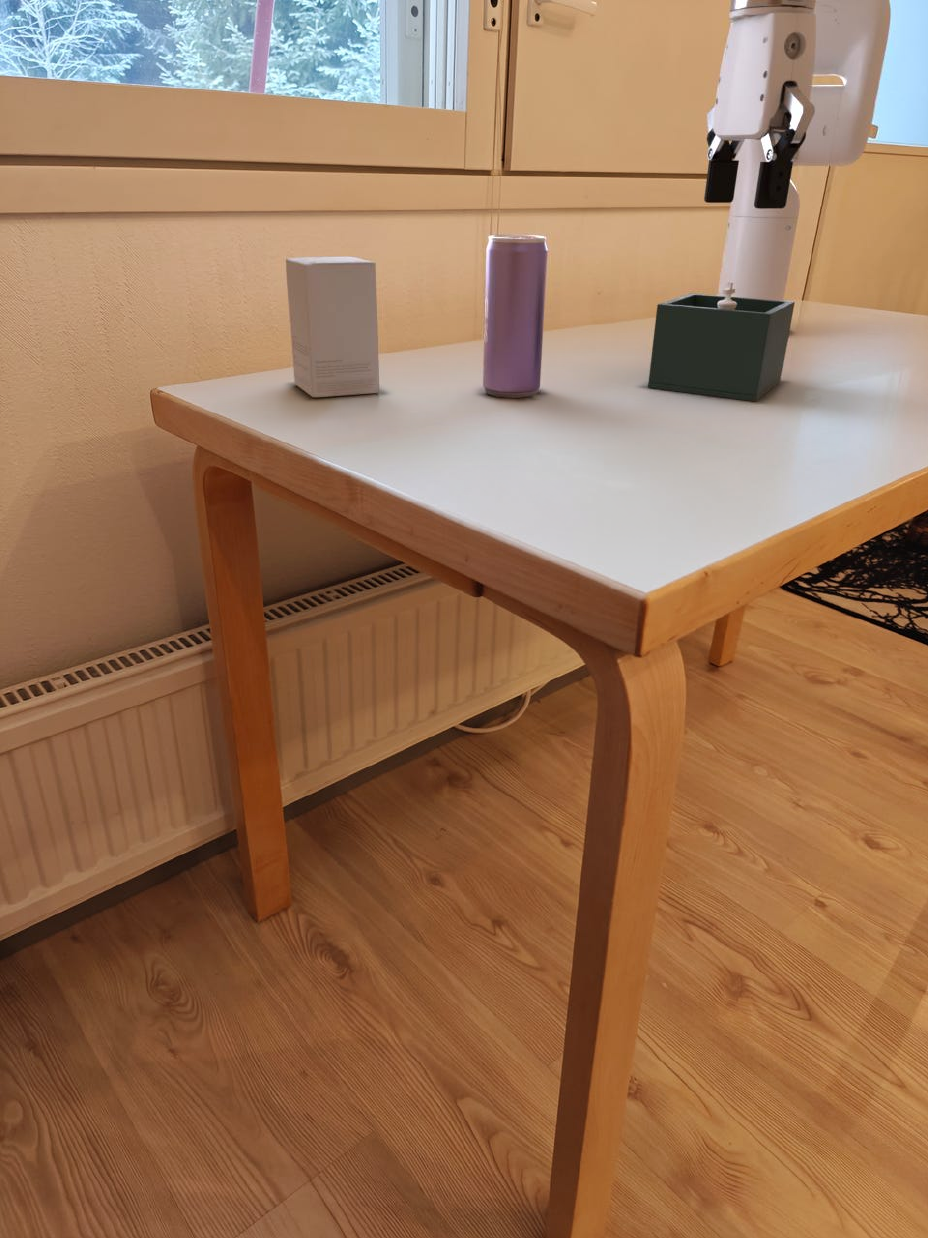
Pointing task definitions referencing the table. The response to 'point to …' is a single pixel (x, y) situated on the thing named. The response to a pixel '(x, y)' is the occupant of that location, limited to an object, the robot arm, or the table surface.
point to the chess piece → (727, 298)
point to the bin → (720, 346)
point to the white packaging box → (333, 325)
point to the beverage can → (514, 314)
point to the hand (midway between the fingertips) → (742, 205)
